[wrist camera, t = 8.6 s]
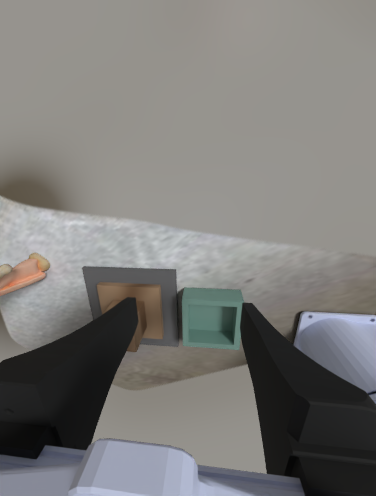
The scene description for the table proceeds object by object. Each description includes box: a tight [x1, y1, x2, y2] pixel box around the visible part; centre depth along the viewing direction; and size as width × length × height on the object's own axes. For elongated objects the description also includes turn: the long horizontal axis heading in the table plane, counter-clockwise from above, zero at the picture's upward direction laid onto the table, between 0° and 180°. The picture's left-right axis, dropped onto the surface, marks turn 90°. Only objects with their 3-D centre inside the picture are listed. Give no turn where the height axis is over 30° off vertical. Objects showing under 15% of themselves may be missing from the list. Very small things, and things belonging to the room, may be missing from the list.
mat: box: [82, 266, 179, 347], centre depth 26 cm, size 12×12×1 cm
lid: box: [97, 282, 164, 352], centre depth 23 cm, size 8×8×5 cm
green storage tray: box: [182, 288, 244, 350], centre depth 24 cm, size 7×7×2 cm
